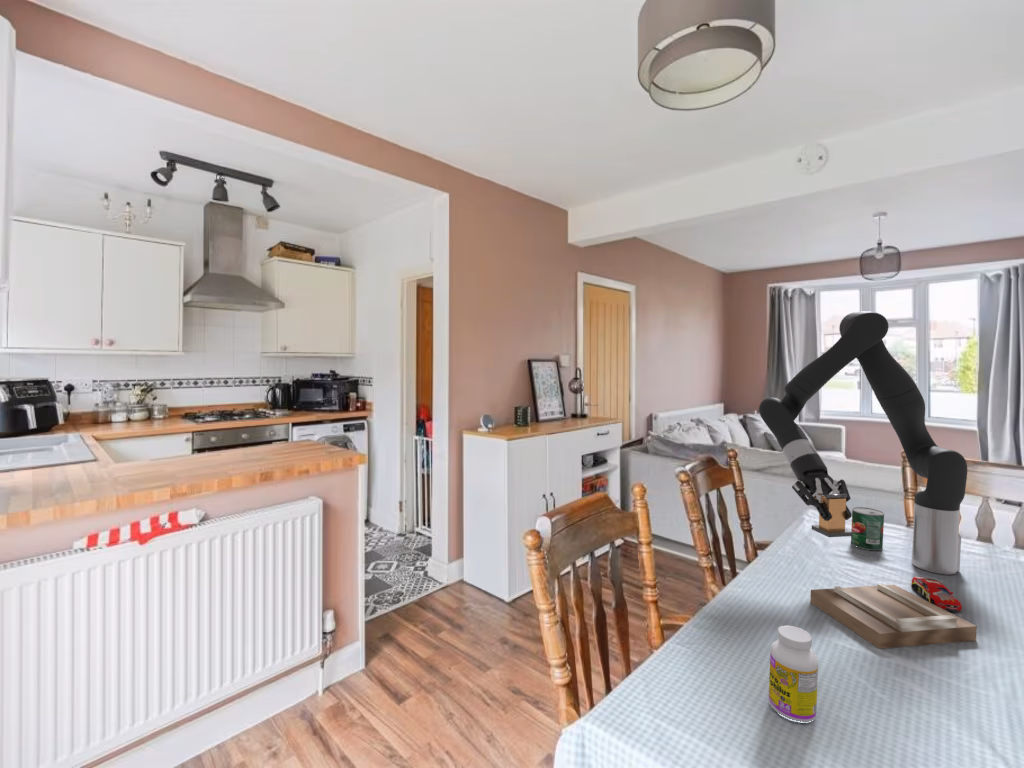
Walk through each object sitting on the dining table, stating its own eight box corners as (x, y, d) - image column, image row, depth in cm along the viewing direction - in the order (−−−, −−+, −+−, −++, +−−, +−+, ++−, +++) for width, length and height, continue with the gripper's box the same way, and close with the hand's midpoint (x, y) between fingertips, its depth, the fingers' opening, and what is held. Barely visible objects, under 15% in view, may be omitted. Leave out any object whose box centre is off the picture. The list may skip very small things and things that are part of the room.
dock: (893, 596, 113) (894, 576, 113) (976, 640, 96) (977, 616, 95) (810, 602, 111) (811, 581, 110) (879, 648, 93) (880, 623, 93)
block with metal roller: (834, 528, 121) (835, 489, 121) (852, 536, 116) (854, 495, 115) (811, 529, 121) (812, 490, 120) (828, 537, 115) (830, 496, 115)
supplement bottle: (759, 696, 79) (761, 622, 79) (796, 694, 80) (799, 620, 79) (786, 727, 73) (788, 646, 72) (826, 725, 73) (829, 644, 73)
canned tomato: (844, 542, 148) (845, 507, 147) (864, 540, 150) (865, 506, 149) (868, 552, 140) (870, 515, 140) (889, 550, 142) (891, 514, 141)
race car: (966, 616, 105) (967, 599, 105) (936, 612, 107) (937, 595, 107) (934, 589, 118) (935, 573, 118) (908, 586, 120) (908, 570, 119)
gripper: (786, 452, 124) (820, 513, 112) (836, 451, 125) (874, 510, 114) (772, 468, 129) (803, 527, 118) (820, 466, 131) (855, 524, 120)
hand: (838, 518), depth 116 cm, fingers closed on block with metal roller, 4 cm apart
